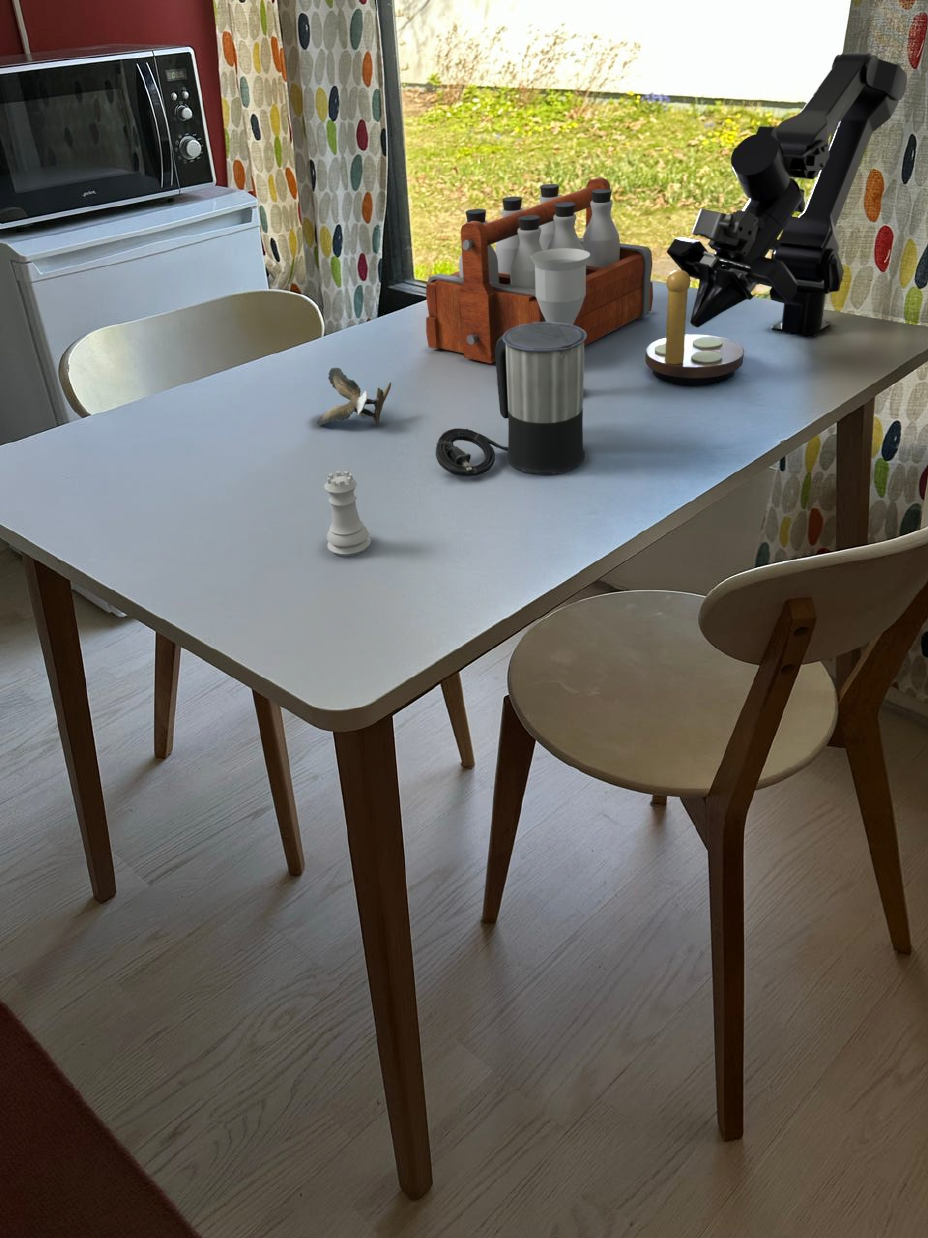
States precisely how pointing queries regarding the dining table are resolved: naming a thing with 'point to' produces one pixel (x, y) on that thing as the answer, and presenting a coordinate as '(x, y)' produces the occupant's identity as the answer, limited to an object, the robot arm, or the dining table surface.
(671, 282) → the joystick with buttons
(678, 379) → the holder base
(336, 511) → the rook chess piece
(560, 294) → the chalice
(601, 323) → the milk bottle holder
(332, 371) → the eagle figurine
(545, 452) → the milk frother
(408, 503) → the dining table surface
